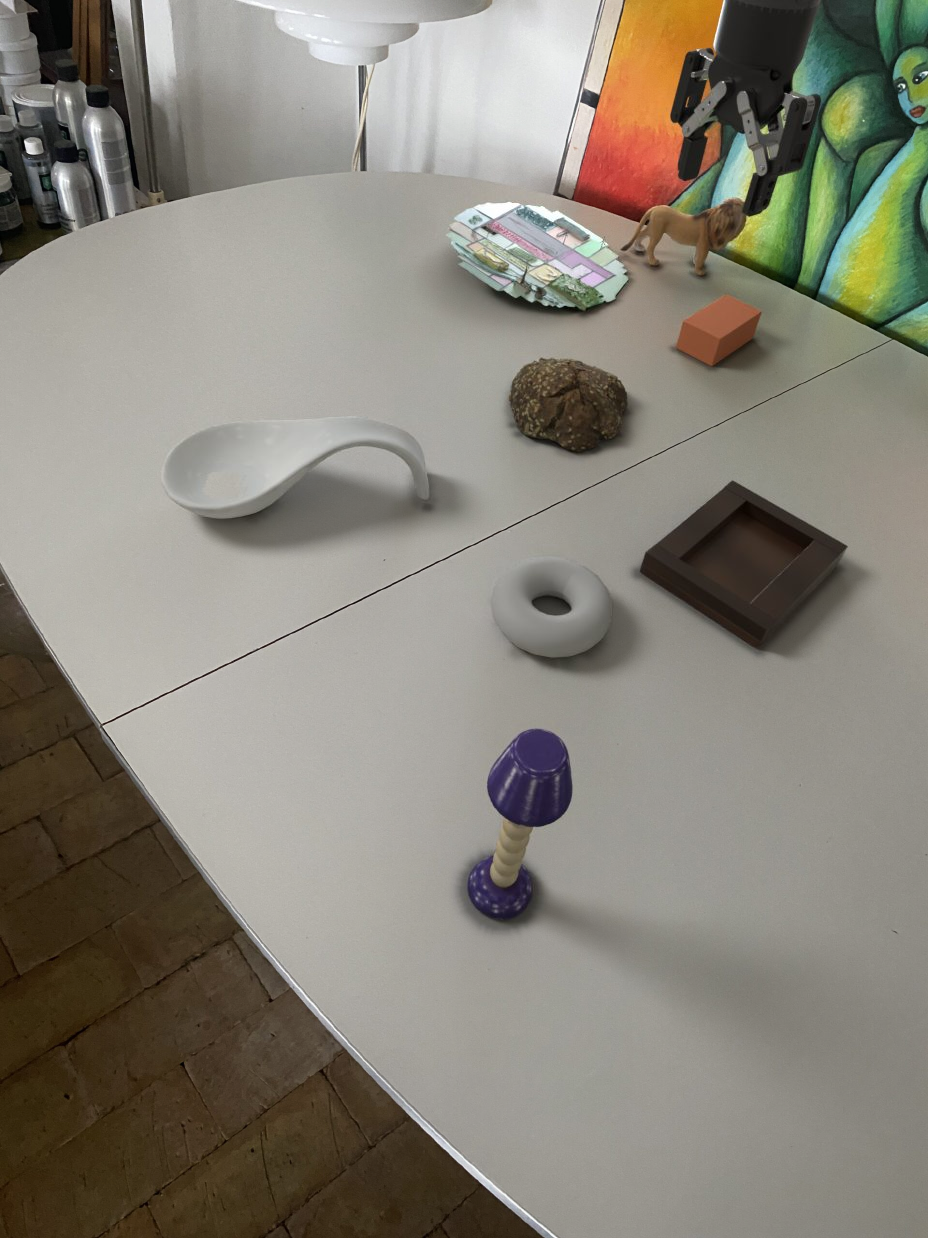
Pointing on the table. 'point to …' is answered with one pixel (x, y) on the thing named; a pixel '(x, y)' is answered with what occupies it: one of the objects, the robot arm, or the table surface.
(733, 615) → the back plate
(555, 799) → the toy lamp
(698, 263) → the lion figurine
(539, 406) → the bread roll
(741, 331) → the orange block
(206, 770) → the table surface
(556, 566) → the donut
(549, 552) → the table surface
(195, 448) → the spoon rest
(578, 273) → the city model
